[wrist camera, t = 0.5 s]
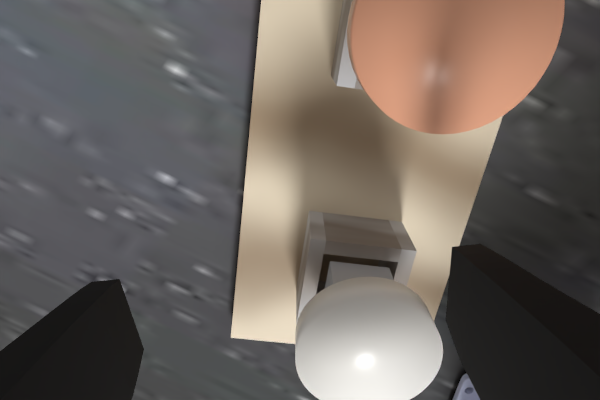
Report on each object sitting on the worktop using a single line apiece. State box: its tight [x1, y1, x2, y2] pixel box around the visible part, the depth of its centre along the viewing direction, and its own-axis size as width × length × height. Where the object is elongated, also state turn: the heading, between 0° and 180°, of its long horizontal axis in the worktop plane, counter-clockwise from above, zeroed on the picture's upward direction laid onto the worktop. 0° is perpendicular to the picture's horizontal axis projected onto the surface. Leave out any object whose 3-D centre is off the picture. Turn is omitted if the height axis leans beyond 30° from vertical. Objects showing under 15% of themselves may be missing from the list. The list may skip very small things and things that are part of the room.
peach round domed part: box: [347, 0, 565, 134], centre depth 11 cm, size 5×5×4 cm
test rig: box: [231, 0, 503, 344], centre depth 17 cm, size 21×10×4 cm, turn 172°
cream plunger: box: [295, 261, 443, 400], centre depth 15 cm, size 5×5×4 cm
